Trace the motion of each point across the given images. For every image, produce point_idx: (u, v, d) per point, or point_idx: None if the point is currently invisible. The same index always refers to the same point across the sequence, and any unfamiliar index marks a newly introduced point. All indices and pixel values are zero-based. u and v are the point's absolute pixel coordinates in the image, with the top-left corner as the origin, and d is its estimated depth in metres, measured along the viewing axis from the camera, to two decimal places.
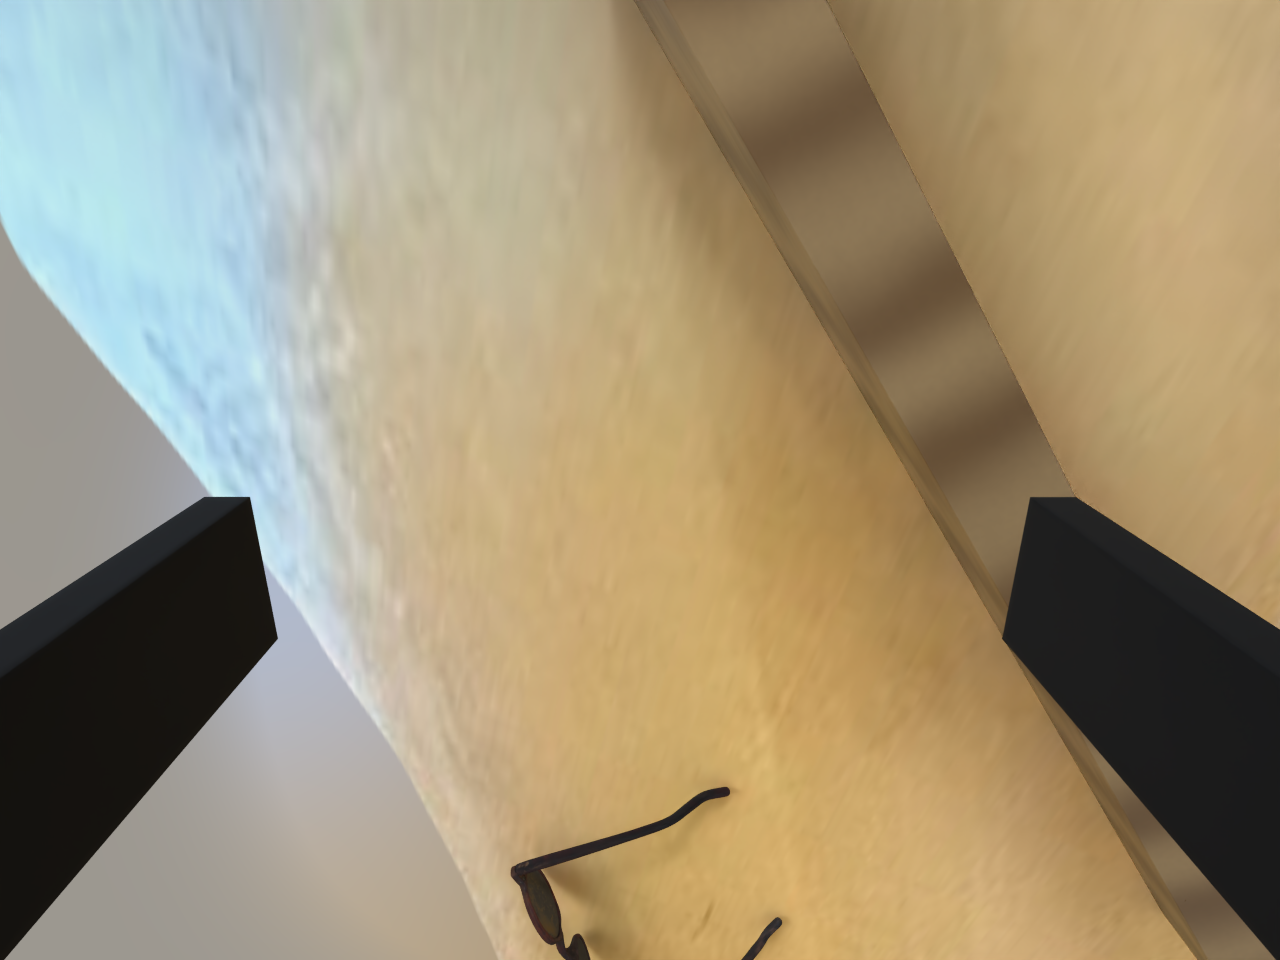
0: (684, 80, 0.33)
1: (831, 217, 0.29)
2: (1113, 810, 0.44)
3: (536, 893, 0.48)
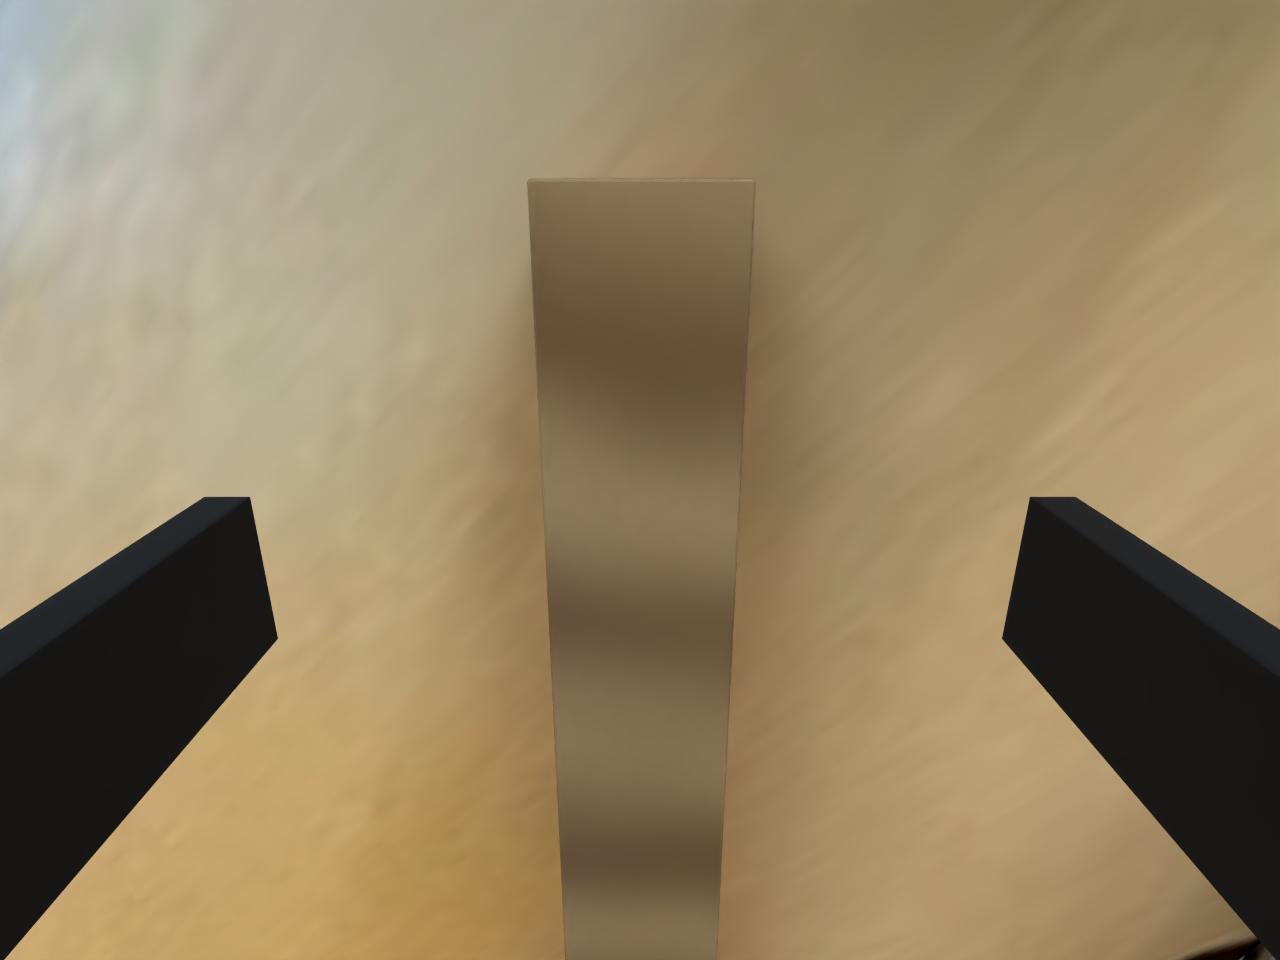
0: None
1: (606, 728, 0.21)
2: None
3: None
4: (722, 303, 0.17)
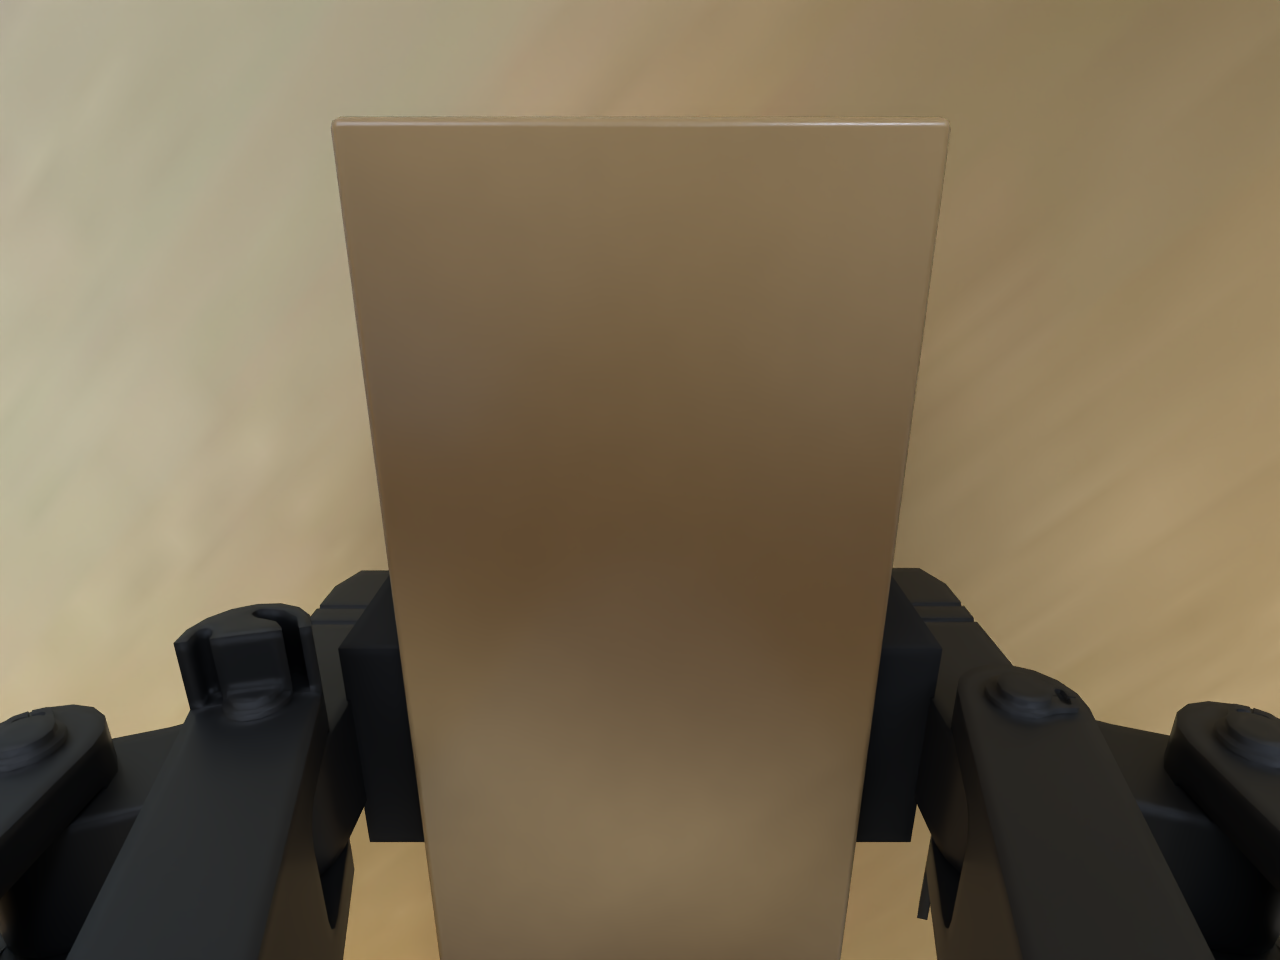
0: None
1: None
2: None
3: None
4: (841, 438, 0.07)
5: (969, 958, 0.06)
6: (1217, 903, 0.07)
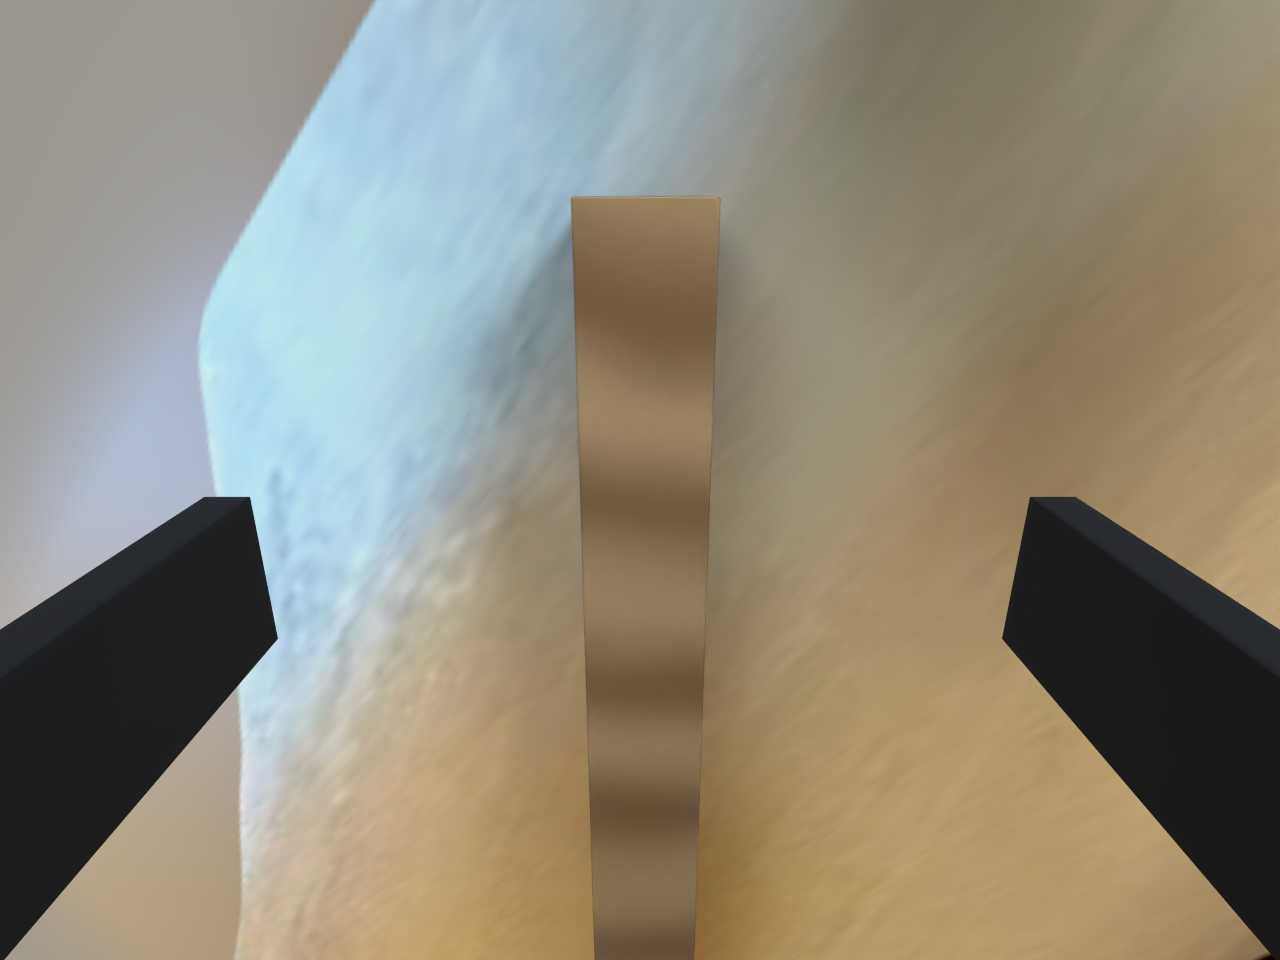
0: None
1: (620, 584, 0.29)
2: None
3: None
4: (699, 279, 0.25)
5: None
6: None
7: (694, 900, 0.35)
